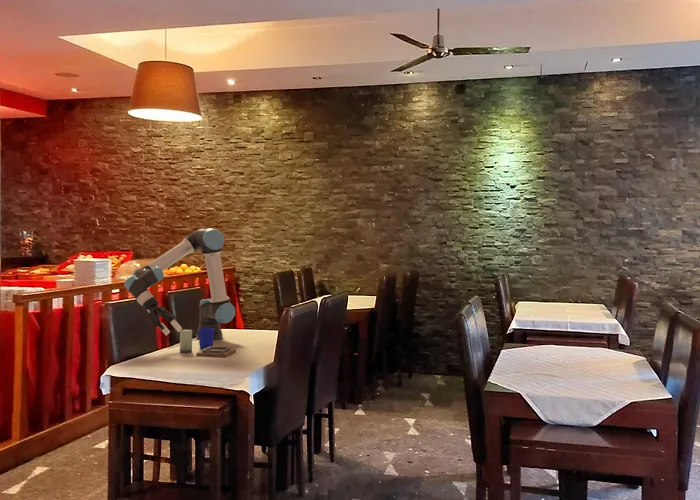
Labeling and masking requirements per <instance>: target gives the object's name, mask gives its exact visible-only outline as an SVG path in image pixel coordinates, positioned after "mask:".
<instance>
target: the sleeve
mask: <svg viewBox="0 0 700 500" xmlns="http://www.w3.org/2000/svg"><path fill="white" fill-rule="evenodd" d="M192 352H193V330H192V329H181V330H180V331H179V353H180V354H190V353H192Z"/></svg>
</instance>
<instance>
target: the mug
mask: <svg viewBox="0 0 700 500" xmlns="http://www.w3.org/2000/svg"><path fill="white" fill-rule="evenodd" d="M213 338H214V329H213V328H201V329H199V339H198V341H199V342H198V344H199V348H200V349H205V348H208V347H210V346H213V347H214V340H213Z"/></svg>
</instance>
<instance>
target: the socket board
mask: <svg viewBox="0 0 700 500" xmlns="http://www.w3.org/2000/svg"><path fill="white" fill-rule="evenodd" d="M236 350H237V349H236V348H232V347H230V346H214V345H213V346H210V347H208V348H205V349H204V348H202V349H201V350H200V351H197V352H195V353H196V357H214V358H216V357H217V358H226V357H228V356H229V357H230V356H231V355H233V354H235V353H236V352H237V351H236Z"/></svg>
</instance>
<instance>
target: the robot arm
mask: <svg viewBox="0 0 700 500" xmlns="http://www.w3.org/2000/svg"><path fill="white" fill-rule="evenodd" d="M224 244H225V237H224V234H223V233H222V231H220V230H219V229H215V228H211V227H210V228H199V229H196V230H195V231H193V232H192V233H190V234H189V235H187V236H186V237H185V238H183V239H182V241H181V242H180V243H178V244H177V245H175V246H174V247H172V248H171V249H169V250H167V251H166V252H165V253H163V254H161V255H159V256H158V257H157V258H155V259H154V260H152V261H150V262H149V263H148V264H146V265H144V266H142V267H141V268H137V269H135V270H133V273H132V275H130V276H129V277H128V278H127V279H125V281H124V283H123V285H124V287H125V288H126V290H127V291H128V292H129V293H130V294H131V296H133V298H134V299H135V300H136V301H137V303H138V304H139V305H141V306H142V309H143V310H145V312H146V314H147V315H148V317H149V319H150V321H151V323H152V325H153V326H154V327H155V328H156V327H158V328H159V329H160V331H162V333H163V334H164V335H165V336H166V337H167V336H168V335H169V334H170V333H171V330H170V329H168V327H167V326H166V325H165V323H163V322H161V319H160V317H162V318H164V319H165V320H166V321H168V322H170V324H171V326H172V327H173V328H174V329H175V331H177V332H178V333H180V330H183V328H182V326H181V325H180V323H178V322H177V320H176V316H175V315H173V314H172V313H171V312H169V311H168V310H167V309H166V308H165V307H164V306H163V305H160V306H158V304H159V301H158V299H157V298H155V297H154V295H153V294H152V293H151V291H149V288H151V287H153V286H154V285H155V284H157V283H159V282H160V281H162V280H163V279H164V278H165V273H164V272H163V271H165V270H166V269H168V268H169V267H171V266H172V265H174V264H176V263H177V262H178V261H180V260H182V258H183V259H184V257H186V256H187V255H190V254H194V253H195V252H197V251H200V252H201V255H202V256H204V261H205V266H206V267H205V268H206V272H207V278H208V284H209V291H210V298H207V299H204V298H203V299H201V300H200V301H199V325H198V329H197V331H196V339H197V340H199V329H201V328H213V329H214V338H213V341H214V340H220V339H223V337H224V335H223V331H222V328H221V325H220V324H228V323H230V322H231V321H232V320H233V319H234V317H235V316H236V308H235V306H234V305H233V304H232V303H231V299H230V297H229V296H228V295H227V289H226V283H225V277H224V270H223V266H222V265H223V262H222V257H221V254H222V253H223V246H224Z"/></svg>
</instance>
